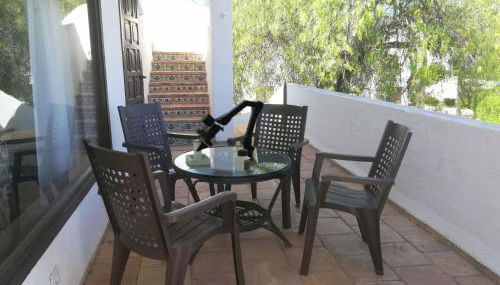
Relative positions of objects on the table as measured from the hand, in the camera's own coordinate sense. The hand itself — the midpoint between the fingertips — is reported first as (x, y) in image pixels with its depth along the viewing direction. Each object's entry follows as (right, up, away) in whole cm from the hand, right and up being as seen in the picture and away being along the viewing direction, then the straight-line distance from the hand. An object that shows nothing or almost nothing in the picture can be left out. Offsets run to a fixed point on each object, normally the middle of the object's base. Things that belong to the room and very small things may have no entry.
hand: (195, 150), depth 243 cm
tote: (+1, -8, +2) cm, 9 cm away
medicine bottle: (+29, -11, -11) cm, 34 cm away
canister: (+1, -7, +2) cm, 7 cm away
